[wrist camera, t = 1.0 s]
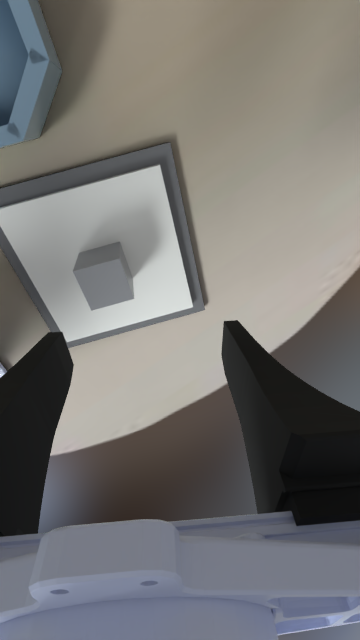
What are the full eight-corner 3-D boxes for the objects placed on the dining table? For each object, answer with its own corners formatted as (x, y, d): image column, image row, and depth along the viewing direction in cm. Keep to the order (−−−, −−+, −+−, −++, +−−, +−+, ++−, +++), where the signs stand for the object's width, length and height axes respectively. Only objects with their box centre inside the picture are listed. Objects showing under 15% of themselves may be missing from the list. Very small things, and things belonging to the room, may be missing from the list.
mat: (62, 346, 27) (62, 349, 26) (-27, 195, 19) (-30, 196, 19) (203, 307, 27) (205, 309, 26) (169, 141, 19) (170, 142, 19)
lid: (68, 337, 26) (60, 368, 22) (-6, 208, 19) (-30, 225, 16) (191, 303, 26) (201, 328, 23) (159, 163, 19) (166, 172, 16)
